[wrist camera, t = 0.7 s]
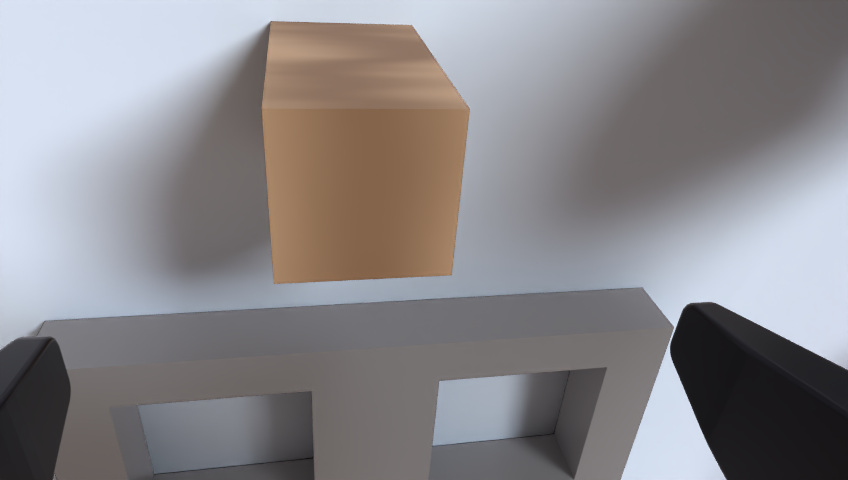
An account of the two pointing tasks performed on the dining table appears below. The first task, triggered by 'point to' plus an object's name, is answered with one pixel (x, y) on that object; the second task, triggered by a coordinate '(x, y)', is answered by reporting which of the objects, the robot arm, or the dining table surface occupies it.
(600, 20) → the dining table surface
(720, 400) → the robot arm
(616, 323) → the socket plate
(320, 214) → the plug
